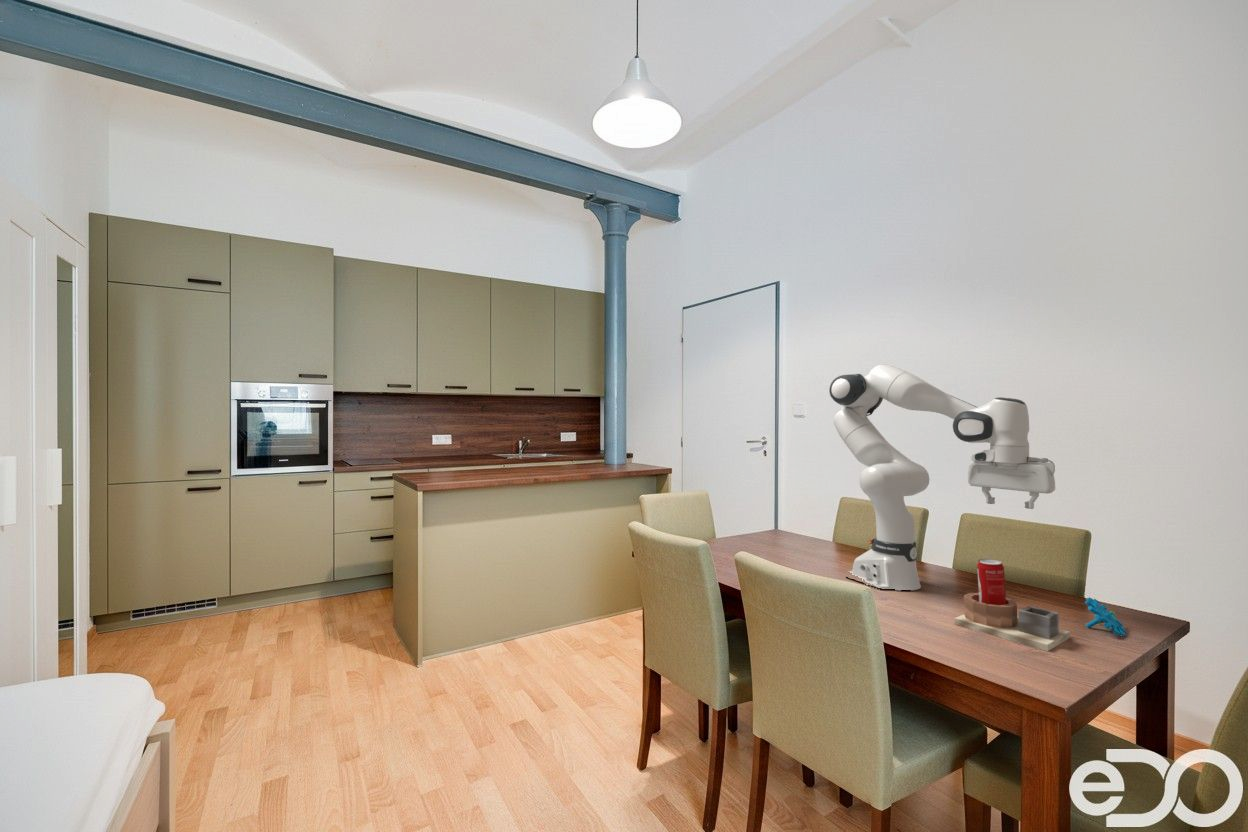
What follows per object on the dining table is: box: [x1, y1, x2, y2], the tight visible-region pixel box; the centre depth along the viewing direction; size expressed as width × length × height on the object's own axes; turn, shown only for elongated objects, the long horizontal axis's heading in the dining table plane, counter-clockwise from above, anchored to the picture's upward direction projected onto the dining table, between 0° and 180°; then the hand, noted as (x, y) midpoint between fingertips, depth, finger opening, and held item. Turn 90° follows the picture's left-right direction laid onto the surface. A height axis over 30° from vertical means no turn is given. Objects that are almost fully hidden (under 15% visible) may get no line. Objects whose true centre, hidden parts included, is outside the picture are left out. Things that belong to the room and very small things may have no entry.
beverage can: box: [976, 558, 1007, 605], centre depth 139 cm, size 6×6×15 cm
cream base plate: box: [953, 592, 1071, 652], centre depth 135 cm, size 20×14×6 cm
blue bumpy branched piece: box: [1084, 597, 1127, 637], centre depth 136 cm, size 11×6×10 cm
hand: (1009, 506), depth 150 cm, fingers open, 8 cm apart
